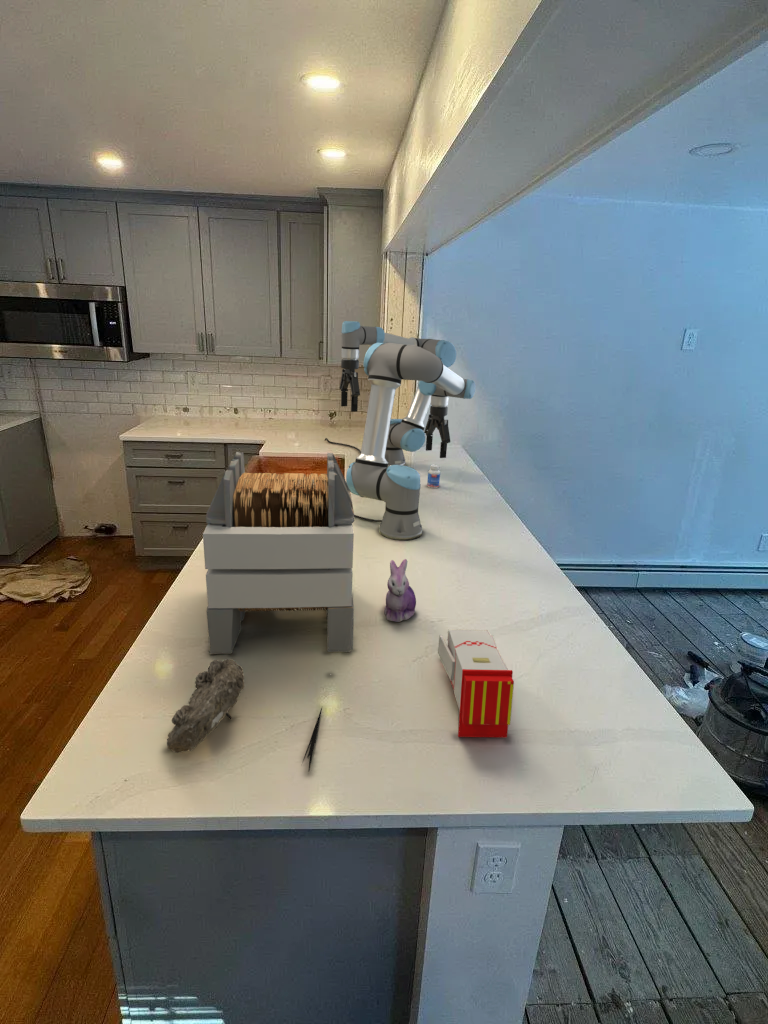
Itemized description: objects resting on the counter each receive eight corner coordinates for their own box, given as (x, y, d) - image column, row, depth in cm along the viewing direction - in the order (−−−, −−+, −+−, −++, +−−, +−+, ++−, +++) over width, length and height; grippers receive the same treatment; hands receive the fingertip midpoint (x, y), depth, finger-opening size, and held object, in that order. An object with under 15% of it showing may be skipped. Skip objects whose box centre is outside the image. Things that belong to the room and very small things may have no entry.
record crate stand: (229, 585, 158) (221, 442, 144) (346, 584, 161) (350, 444, 148) (206, 656, 126) (193, 481, 112) (353, 652, 130) (358, 483, 116)
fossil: (192, 660, 117) (244, 628, 112) (224, 691, 120) (276, 661, 115) (142, 746, 98) (202, 712, 93) (182, 779, 101) (242, 748, 96)
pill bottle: (430, 488, 252) (431, 467, 249) (424, 485, 257) (426, 464, 253) (441, 487, 254) (442, 466, 251) (435, 484, 259) (437, 463, 255)
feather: (331, 679, 122) (336, 673, 122) (307, 777, 96) (313, 769, 95) (324, 675, 122) (329, 669, 121) (298, 772, 95) (304, 764, 95)
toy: (488, 613, 130) (523, 677, 101) (484, 667, 133) (517, 744, 104) (435, 612, 130) (455, 676, 101) (432, 666, 133) (451, 743, 103)
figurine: (392, 627, 141) (395, 572, 136) (374, 608, 149) (376, 556, 144) (425, 619, 145) (429, 566, 140) (405, 601, 154) (408, 550, 149)
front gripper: (461, 410, 234) (456, 460, 241) (433, 400, 255) (430, 446, 262) (445, 411, 231) (441, 461, 238) (418, 401, 252) (415, 447, 260)
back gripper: (368, 362, 233) (367, 413, 240) (348, 356, 255) (347, 404, 262) (351, 362, 230) (350, 414, 237) (332, 356, 252) (332, 404, 259)
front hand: (435, 454), depth 250 cm, fingers open, 13 cm apart
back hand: (349, 408), depth 250 cm, fingers open, 13 cm apart
